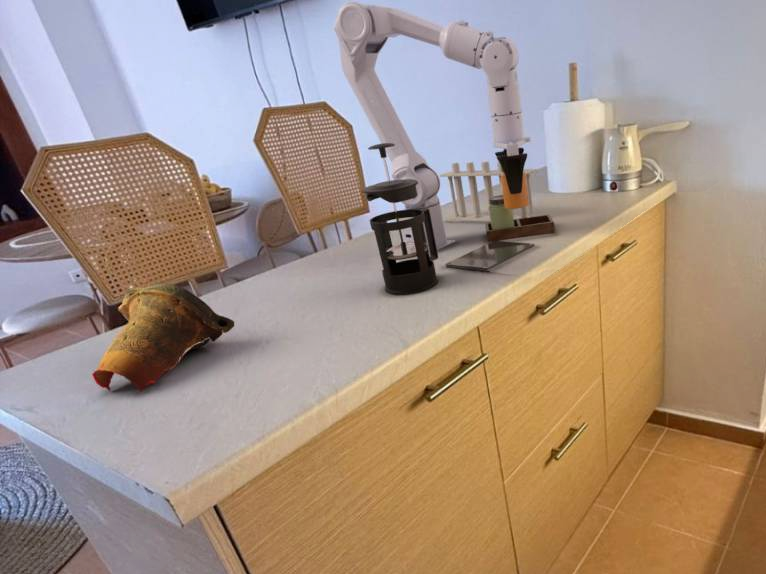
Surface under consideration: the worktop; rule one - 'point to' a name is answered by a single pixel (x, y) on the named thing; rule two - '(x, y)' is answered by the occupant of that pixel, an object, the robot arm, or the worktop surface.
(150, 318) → the pot
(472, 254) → the slate board
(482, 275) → the worktop surface
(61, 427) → the worktop surface
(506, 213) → the sage jar
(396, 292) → the french press
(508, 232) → the jar stand
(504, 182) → the honey jar
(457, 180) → the test tube rack
